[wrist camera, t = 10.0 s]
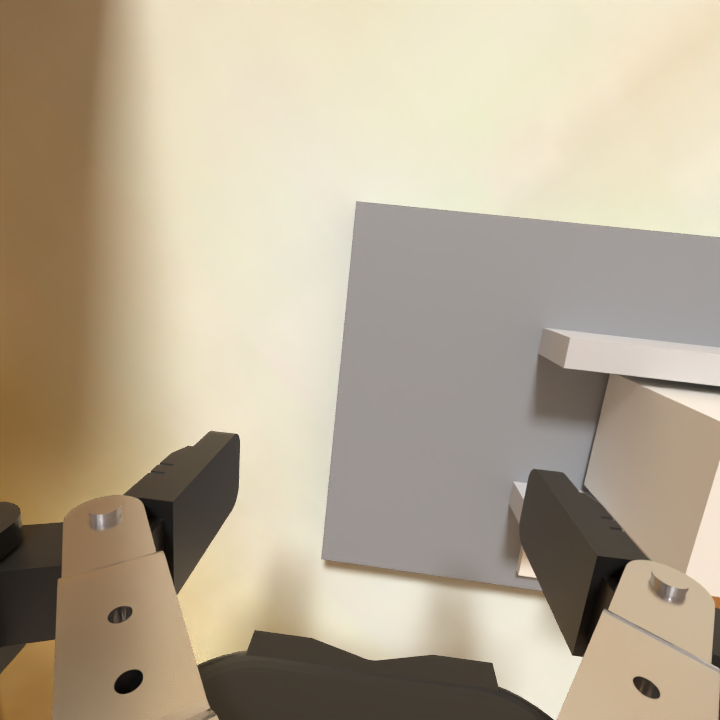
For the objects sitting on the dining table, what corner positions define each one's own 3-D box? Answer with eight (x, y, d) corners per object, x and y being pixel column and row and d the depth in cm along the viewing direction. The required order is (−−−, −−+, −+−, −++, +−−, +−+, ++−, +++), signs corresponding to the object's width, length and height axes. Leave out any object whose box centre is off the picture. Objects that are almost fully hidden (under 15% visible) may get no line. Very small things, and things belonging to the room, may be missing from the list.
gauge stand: (325, 541, 24) (283, 711, 15) (358, 206, 20) (330, 150, 11) (889, 621, 22) (1239, 867, 13) (1037, 274, 19) (1673, 276, 9)
